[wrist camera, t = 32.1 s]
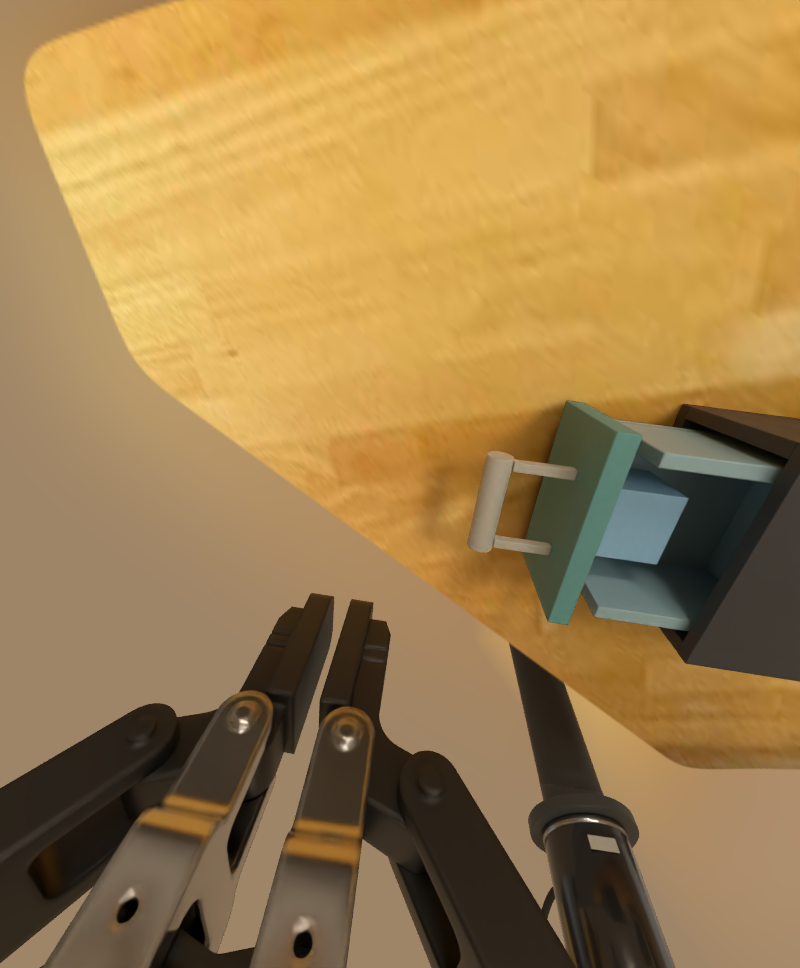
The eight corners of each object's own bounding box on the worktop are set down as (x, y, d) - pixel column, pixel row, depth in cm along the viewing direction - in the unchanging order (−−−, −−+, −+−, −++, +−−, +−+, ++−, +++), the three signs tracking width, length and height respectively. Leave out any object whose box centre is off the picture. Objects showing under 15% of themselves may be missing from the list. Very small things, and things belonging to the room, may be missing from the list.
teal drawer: (456, 541, 28) (461, 609, 22) (487, 390, 24) (506, 416, 17) (697, 576, 27) (780, 658, 21) (778, 427, 23) (919, 472, 16)
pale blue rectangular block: (625, 530, 25) (657, 565, 22) (572, 522, 25) (595, 556, 22) (650, 470, 23) (689, 498, 20) (593, 463, 24) (621, 488, 20)
